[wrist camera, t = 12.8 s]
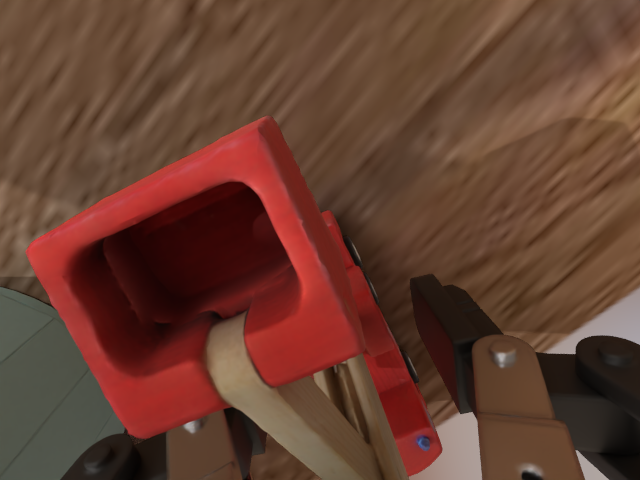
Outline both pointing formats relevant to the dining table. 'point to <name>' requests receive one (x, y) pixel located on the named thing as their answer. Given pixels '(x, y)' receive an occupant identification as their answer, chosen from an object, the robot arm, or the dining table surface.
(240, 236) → the toy fire truck
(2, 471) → the pot
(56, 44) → the dining table surface
